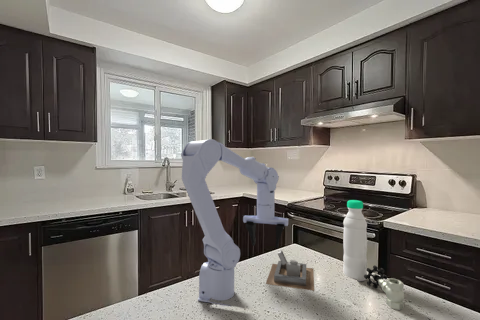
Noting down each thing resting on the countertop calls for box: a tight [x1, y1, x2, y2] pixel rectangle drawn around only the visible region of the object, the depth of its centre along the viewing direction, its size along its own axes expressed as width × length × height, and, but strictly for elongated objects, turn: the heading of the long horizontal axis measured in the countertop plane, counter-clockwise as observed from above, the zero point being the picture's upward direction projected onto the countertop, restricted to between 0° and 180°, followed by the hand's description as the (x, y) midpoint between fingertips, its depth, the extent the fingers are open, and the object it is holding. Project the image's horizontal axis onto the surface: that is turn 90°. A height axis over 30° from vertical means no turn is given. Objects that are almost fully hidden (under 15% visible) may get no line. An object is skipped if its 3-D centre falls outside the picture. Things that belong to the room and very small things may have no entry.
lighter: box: [277, 249, 300, 277], centre depth 79 cm, size 7×2×8 cm, turn 71°
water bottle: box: [342, 199, 368, 282], centre depth 81 cm, size 7×7×25 cm
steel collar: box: [274, 260, 307, 286], centre depth 80 cm, size 9×11×2 cm
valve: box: [364, 265, 405, 311], centre depth 69 cm, size 7×7×12 cm
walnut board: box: [265, 263, 315, 291], centre depth 80 cm, size 14×15×1 cm
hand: (265, 245), depth 81 cm, fingers open, 7 cm apart
